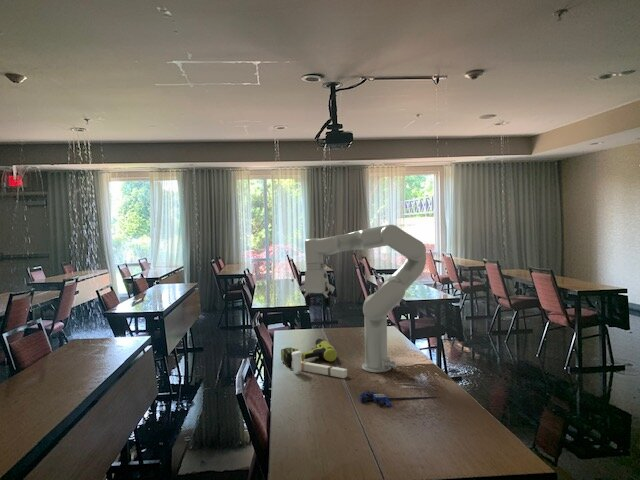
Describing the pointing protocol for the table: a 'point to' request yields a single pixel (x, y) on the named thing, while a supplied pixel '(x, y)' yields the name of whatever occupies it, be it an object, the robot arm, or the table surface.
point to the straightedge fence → (323, 369)
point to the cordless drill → (311, 353)
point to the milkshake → (297, 361)
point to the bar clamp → (382, 398)
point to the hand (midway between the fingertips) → (317, 306)
